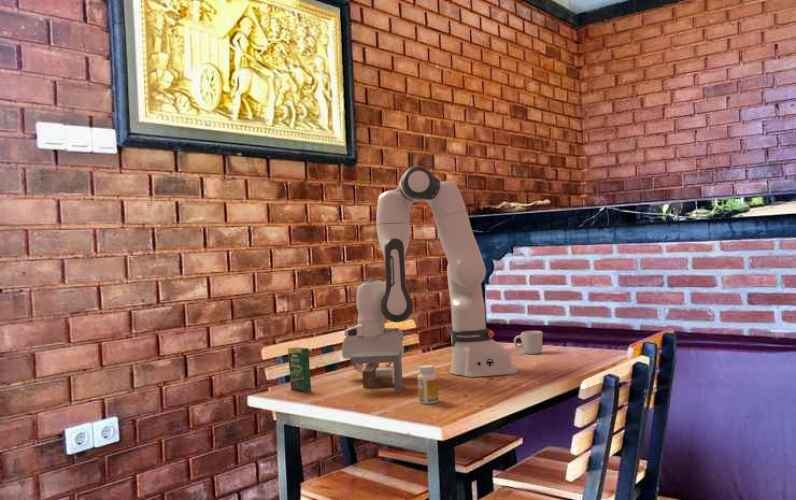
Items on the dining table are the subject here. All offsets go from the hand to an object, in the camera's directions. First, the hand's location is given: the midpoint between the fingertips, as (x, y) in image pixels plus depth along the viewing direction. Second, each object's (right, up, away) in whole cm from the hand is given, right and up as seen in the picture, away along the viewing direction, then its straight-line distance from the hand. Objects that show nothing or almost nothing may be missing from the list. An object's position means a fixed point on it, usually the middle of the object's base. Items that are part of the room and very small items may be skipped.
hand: (374, 370), depth 213 cm
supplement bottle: (+16, -2, -37) cm, 41 cm away
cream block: (+4, -2, -10) cm, 11 cm away
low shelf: (+2, -2, -20) cm, 20 cm away
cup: (+57, +1, +31) cm, 65 cm away
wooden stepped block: (+2, -2, -7) cm, 7 cm away
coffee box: (-22, -4, -12) cm, 26 cm away
